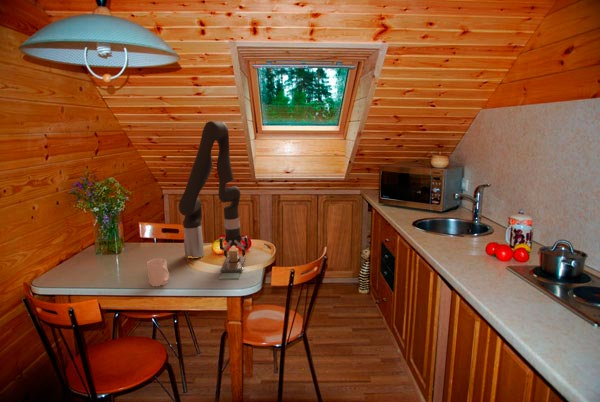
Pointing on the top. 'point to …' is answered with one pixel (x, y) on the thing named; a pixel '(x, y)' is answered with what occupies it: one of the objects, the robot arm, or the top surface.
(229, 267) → the rail plate
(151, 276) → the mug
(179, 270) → the top surface
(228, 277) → the pad
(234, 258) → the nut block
